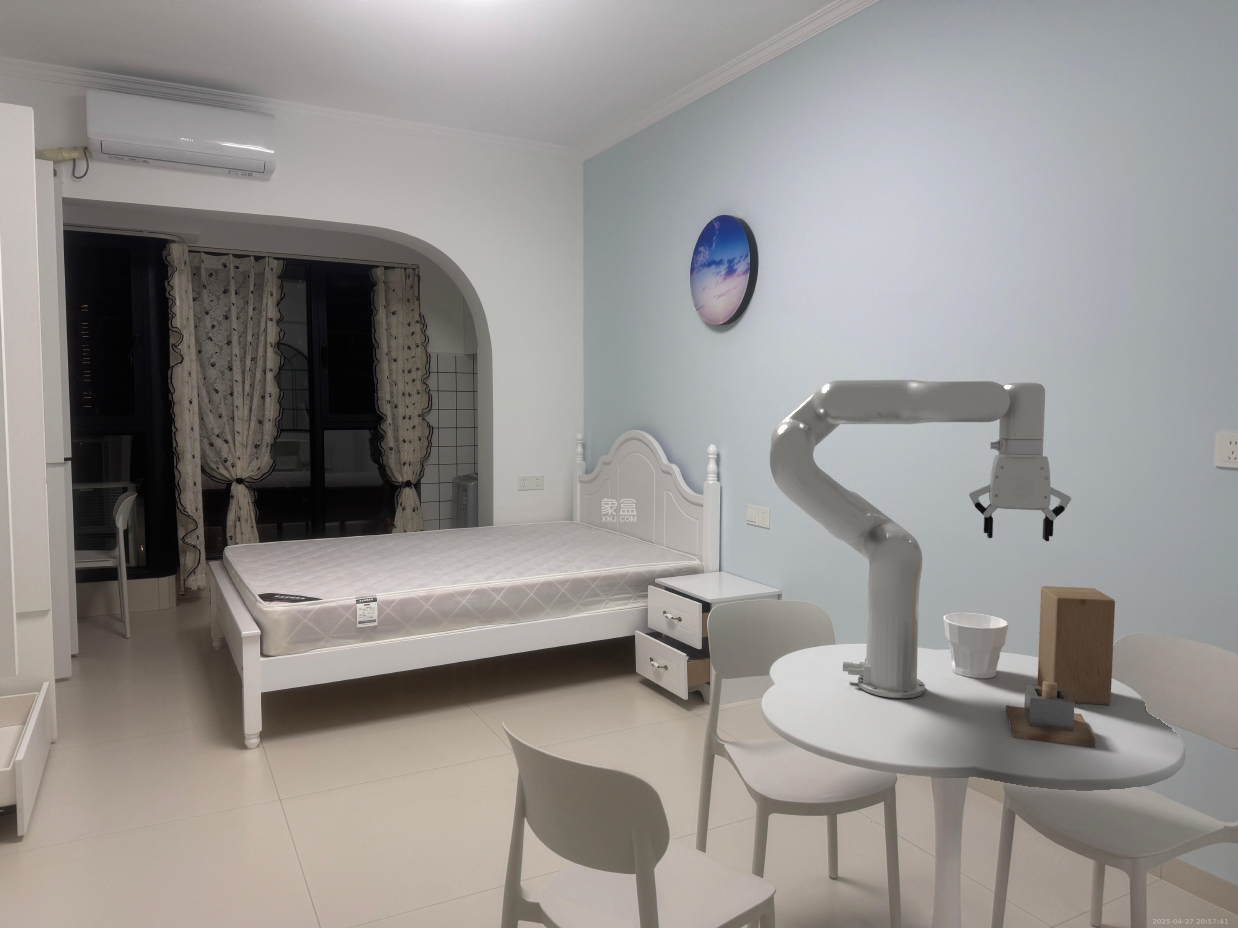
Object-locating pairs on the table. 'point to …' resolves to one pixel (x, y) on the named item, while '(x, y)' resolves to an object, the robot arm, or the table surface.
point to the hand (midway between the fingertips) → (1017, 538)
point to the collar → (1049, 709)
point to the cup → (975, 643)
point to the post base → (1022, 729)
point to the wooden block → (1077, 642)
